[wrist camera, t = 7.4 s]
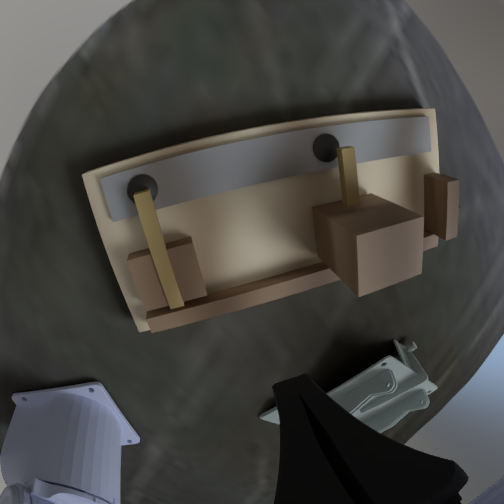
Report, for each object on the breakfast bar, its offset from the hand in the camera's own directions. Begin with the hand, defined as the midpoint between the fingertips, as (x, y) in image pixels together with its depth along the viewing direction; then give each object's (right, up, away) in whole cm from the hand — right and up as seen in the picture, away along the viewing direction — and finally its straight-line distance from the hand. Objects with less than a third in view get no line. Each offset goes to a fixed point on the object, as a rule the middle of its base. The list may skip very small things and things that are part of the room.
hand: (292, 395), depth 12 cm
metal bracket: (+8, -8, +17) cm, 21 cm away
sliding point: (+4, +9, +7) cm, 12 cm away
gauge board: (+1, +8, +8) cm, 11 cm away
